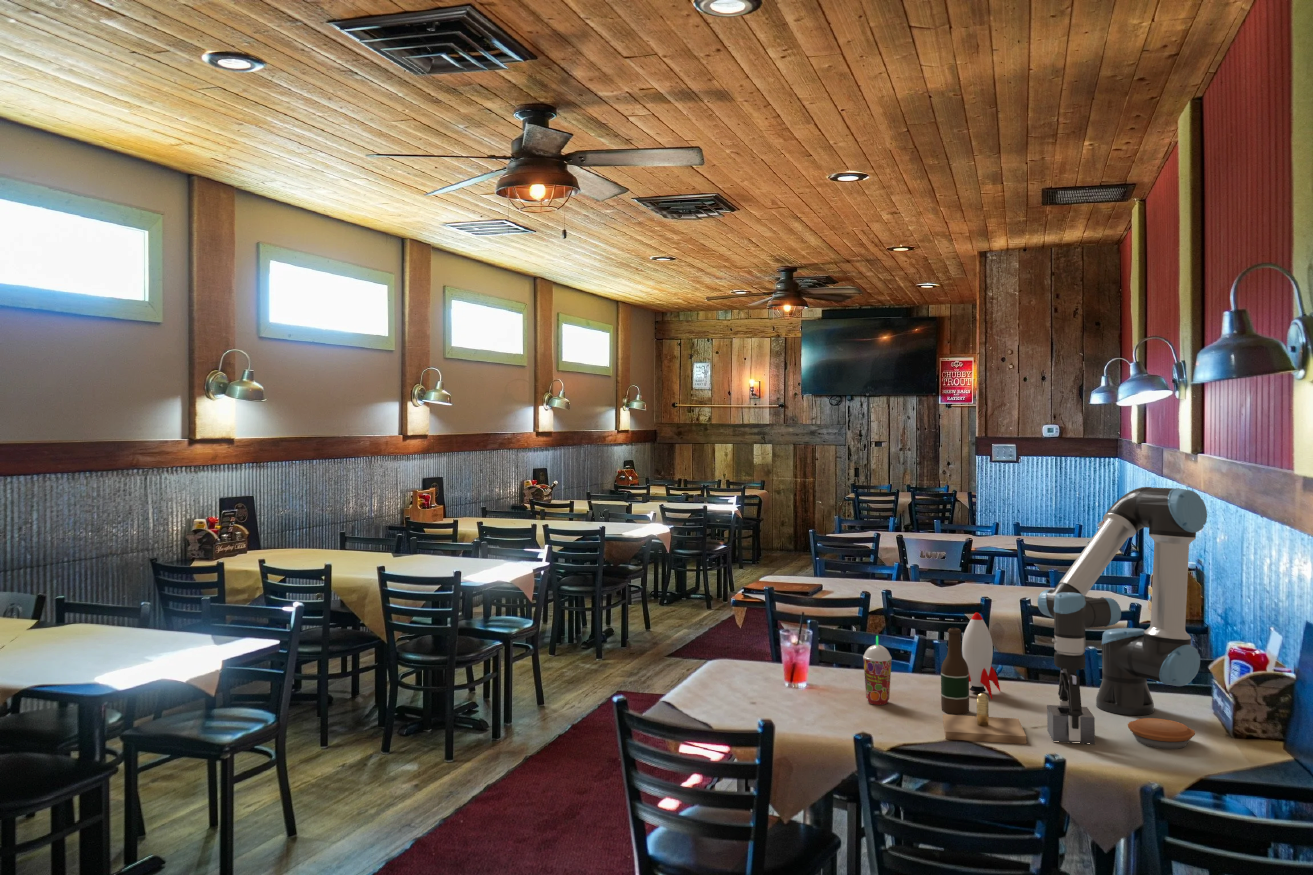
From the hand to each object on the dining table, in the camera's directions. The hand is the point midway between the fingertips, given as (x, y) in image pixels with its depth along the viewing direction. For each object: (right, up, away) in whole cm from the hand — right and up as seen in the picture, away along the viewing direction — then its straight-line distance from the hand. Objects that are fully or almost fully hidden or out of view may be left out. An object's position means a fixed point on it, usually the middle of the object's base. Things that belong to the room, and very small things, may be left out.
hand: (1069, 732), depth 254 cm
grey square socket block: (0, -1, 0) cm, 1 cm away
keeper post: (-21, 0, +5) cm, 22 cm away
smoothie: (-43, -2, +35) cm, 55 cm away
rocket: (-9, -2, +45) cm, 46 cm away
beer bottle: (-22, -2, +25) cm, 34 cm away
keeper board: (-21, -2, +5) cm, 22 cm away
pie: (+22, -1, -4) cm, 22 cm away
